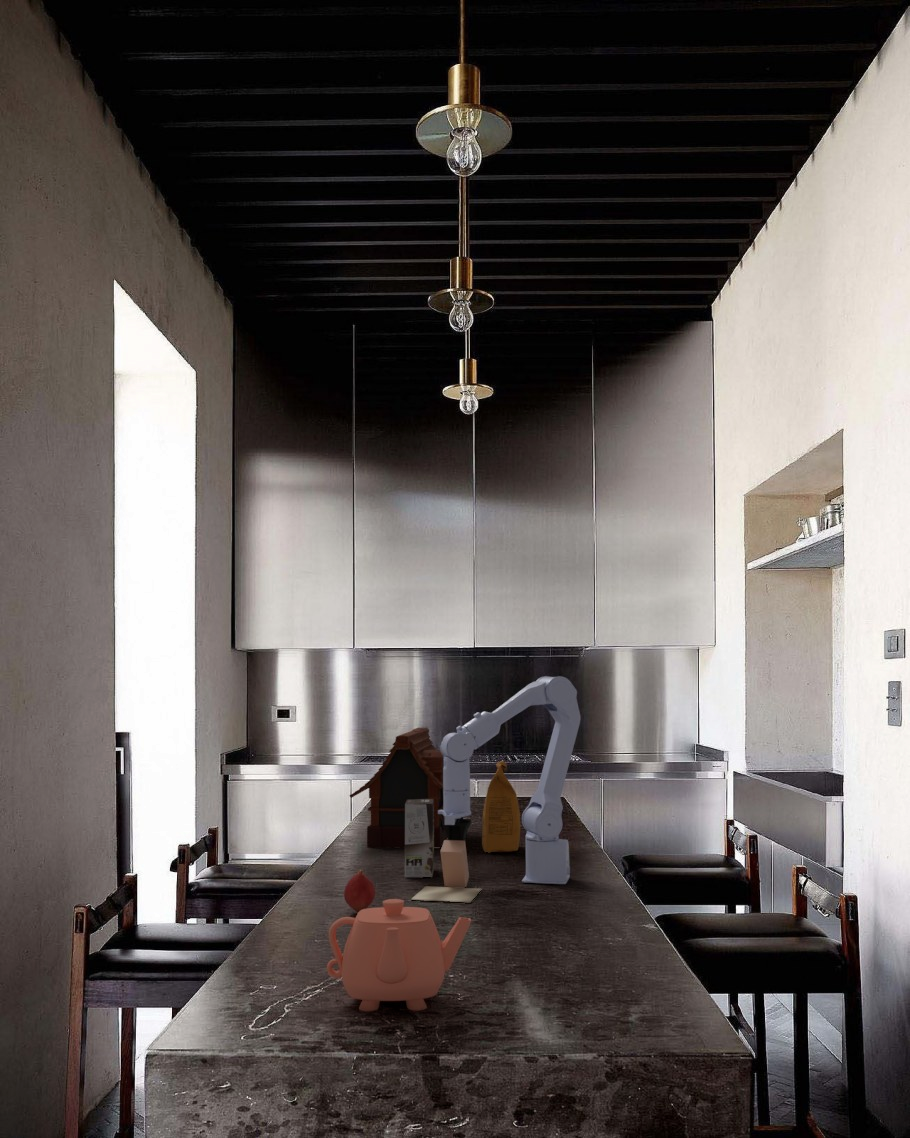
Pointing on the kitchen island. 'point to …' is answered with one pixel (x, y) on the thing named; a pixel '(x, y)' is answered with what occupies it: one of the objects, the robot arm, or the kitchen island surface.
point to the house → (405, 789)
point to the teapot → (394, 955)
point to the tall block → (454, 863)
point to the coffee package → (500, 815)
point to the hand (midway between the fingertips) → (457, 854)
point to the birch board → (447, 894)
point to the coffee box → (419, 838)
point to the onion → (359, 892)
